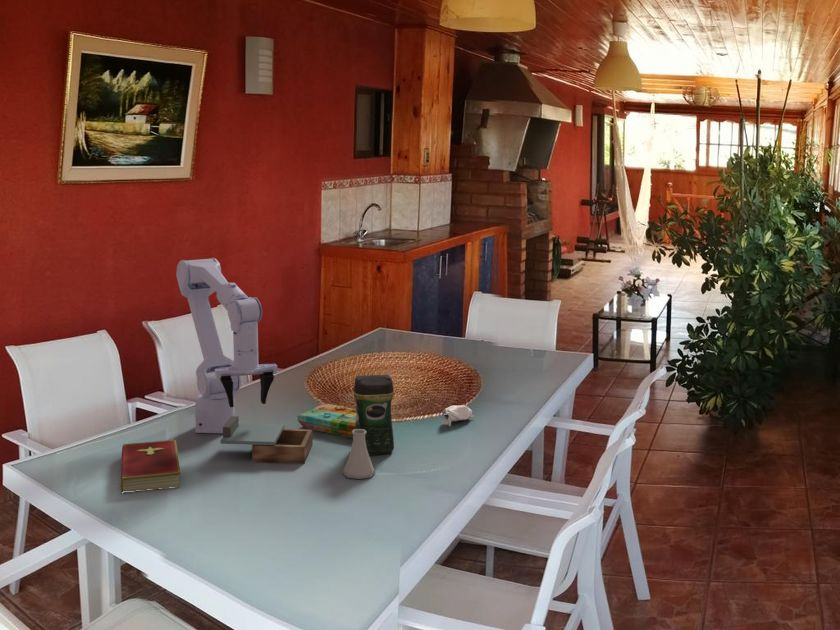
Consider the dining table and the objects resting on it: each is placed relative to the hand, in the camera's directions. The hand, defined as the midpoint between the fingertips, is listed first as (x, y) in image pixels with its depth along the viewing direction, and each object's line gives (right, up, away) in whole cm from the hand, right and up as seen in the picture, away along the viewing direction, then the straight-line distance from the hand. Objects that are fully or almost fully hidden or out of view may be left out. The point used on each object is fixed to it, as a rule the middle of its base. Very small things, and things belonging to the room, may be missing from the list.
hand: (247, 404), depth 205 cm
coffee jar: (+30, -11, +1) cm, 32 cm away
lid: (+2, -7, -4) cm, 8 cm away
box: (+9, -11, -3) cm, 15 cm away
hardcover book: (-18, -14, -16) cm, 28 cm away
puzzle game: (+22, -8, +15) cm, 28 cm away
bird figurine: (+51, -7, +23) cm, 57 cm away
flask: (+28, -14, -14) cm, 34 cm away
